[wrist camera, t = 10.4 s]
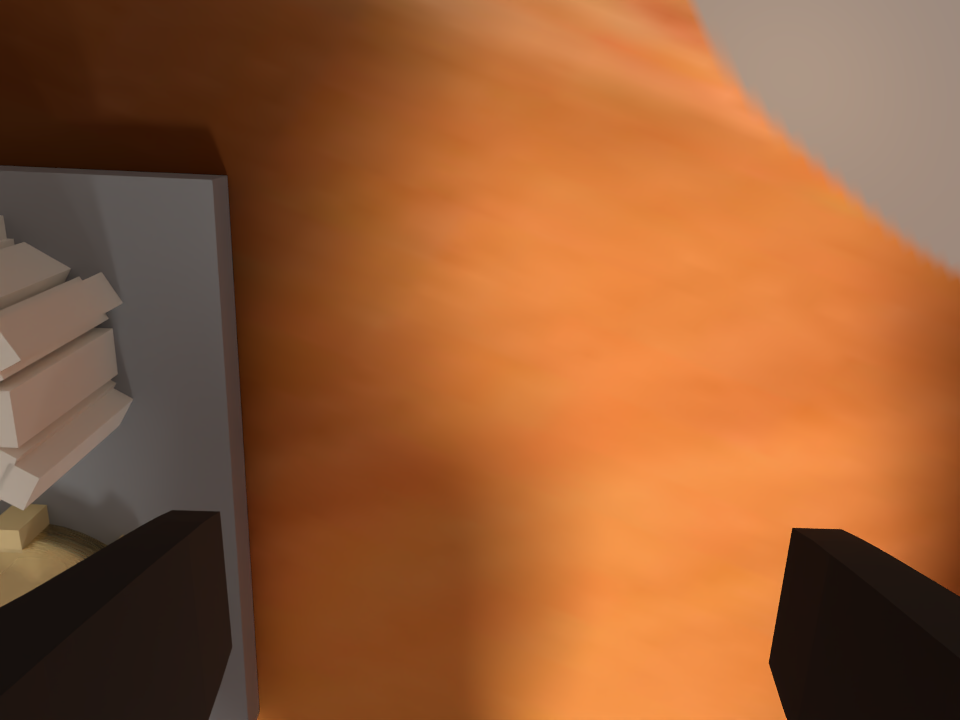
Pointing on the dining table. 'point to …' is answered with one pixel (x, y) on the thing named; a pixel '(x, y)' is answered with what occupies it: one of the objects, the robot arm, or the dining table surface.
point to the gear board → (145, 381)
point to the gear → (51, 370)
